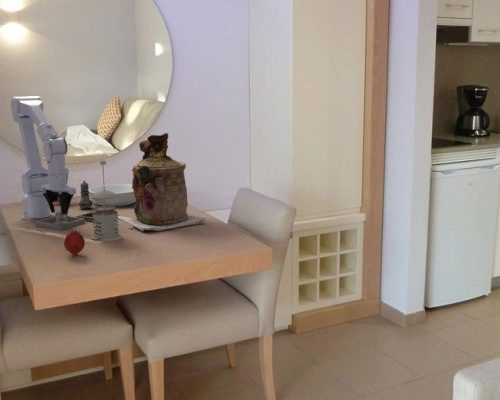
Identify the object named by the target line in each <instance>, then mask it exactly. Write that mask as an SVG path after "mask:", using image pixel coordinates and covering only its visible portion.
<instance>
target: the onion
mask: <svg viewBox="0 0 500 400" xmlns="http://www.w3.org/2000/svg"><path fill="white" fill-rule="evenodd" d="M85 241H86V240H85V238H84V236H83V235H82V234H81V233H80V232H78V231H77V230H76V229H75V228H72V229H70V232H68V233H67V235H66V236H65V238H64V240H63V246H64V248H65V250H66V251H67V252H68V253H70V254H72V256H78V254H79V253H81V252H82V251H83V250H84V248H85V245H86V242H85Z"/></svg>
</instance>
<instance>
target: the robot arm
mask: <svg viewBox="0 0 500 400" xmlns="http://www.w3.org/2000/svg"><path fill="white" fill-rule="evenodd" d="M10 109H11V111H10V112H11V114H12V118H13V119H12V120H13V122H15V123H17V124H18V128H19V131H20V137H21V141H22V145H23V147H22V148H23V150H24V151H23V152H24V155H25V160H26V166H27V169H26V170H25V171H24V172H23V173H22V175H21V188H22V191H23V192H24V196H22V201H21V202H22V203H21V204H22V205H21V206H22V217H21V219H23V220H30V219H46V218H50V217H51V215H52V214H55V210H54V205H53V204H52V201H53V200H56V199H58V198H59V201H60V205H61V212H62V214H68V213H69V209H70V205H71V202H72V199H73V197H74V196H75V194H77V188H76V187H72V186H69V184H68V183H67V184H66V168H65V167H66V157H65V155H67V153H68V143H67V140H66V138H65V137H64V136H63V137H62V136H61V135H59V134H58V132H57V130H56V129H55V127H54V125H53V124H52V123H51V122H48V120H47V118H46V116H45V114H44V101H43V98H42V97H41V96H39V95H36V96H13V97H12V99H11V101H10ZM34 124H35V125H36V127H37V128H36V129H35V126H34ZM35 130H36V131H35ZM36 133H37V135H38V136H39V138H40V140H41V142H42V144H43V146H42V149H43V153H44V157H45V161H46V162H47V163H46V165H47V168H48V169H46V167H44V166H43V163H42V159H41V155H40V149H39V146H38V145H39V144H38V140H37V136H36ZM59 192H60V193H62V194H59Z"/></svg>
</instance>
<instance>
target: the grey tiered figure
mask: <svg viewBox="0 0 500 400" xmlns="http://www.w3.org/2000/svg"><path fill="white" fill-rule="evenodd" d="M89 189H90V188H89V183H87V182H86V180H83V182H81V183H80V192H79V194H80V200H78V201H77V205H78V207H79V208H80V209H83V210H88V209H91V208H92V207H93V203H94V202H93V201H92V199H91V198H90V195H89Z"/></svg>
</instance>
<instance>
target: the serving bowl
mask: <svg viewBox="0 0 500 400" xmlns="http://www.w3.org/2000/svg"><path fill="white" fill-rule="evenodd" d="M104 188H105V190H106V191H111V192H114V193H115V194H117V195H118V196H117V197H116V198H113V199H105V204H104V202H103V206H106V205H108V206H115V207H116V208H123V207H126V206H128V205H132V204H133V203H136V198H135V195H134V190H133V189H132V183H131V184H130V183H128V184H126V183H116V184H115V183H114V184H102V185H98V186H93V187H91V188H88V189H89V198H90V200H91V201H93V203H95V204H96V205H97V201H98V206H102V202H99V199H94V198H92V195H93V194H95V193H96V192H99V191H103V190H104ZM100 201H102V200H100ZM103 201H104V200H103Z"/></svg>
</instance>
